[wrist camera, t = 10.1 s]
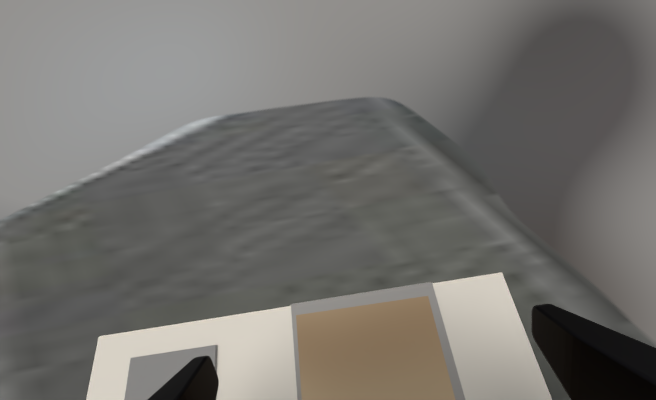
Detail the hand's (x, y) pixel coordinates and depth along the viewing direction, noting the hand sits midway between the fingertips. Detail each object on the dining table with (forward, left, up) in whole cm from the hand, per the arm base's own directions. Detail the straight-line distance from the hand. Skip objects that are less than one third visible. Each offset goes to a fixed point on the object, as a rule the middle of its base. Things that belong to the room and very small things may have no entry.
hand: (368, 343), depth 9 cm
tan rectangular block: (-1, +1, -9) cm, 9 cm away
